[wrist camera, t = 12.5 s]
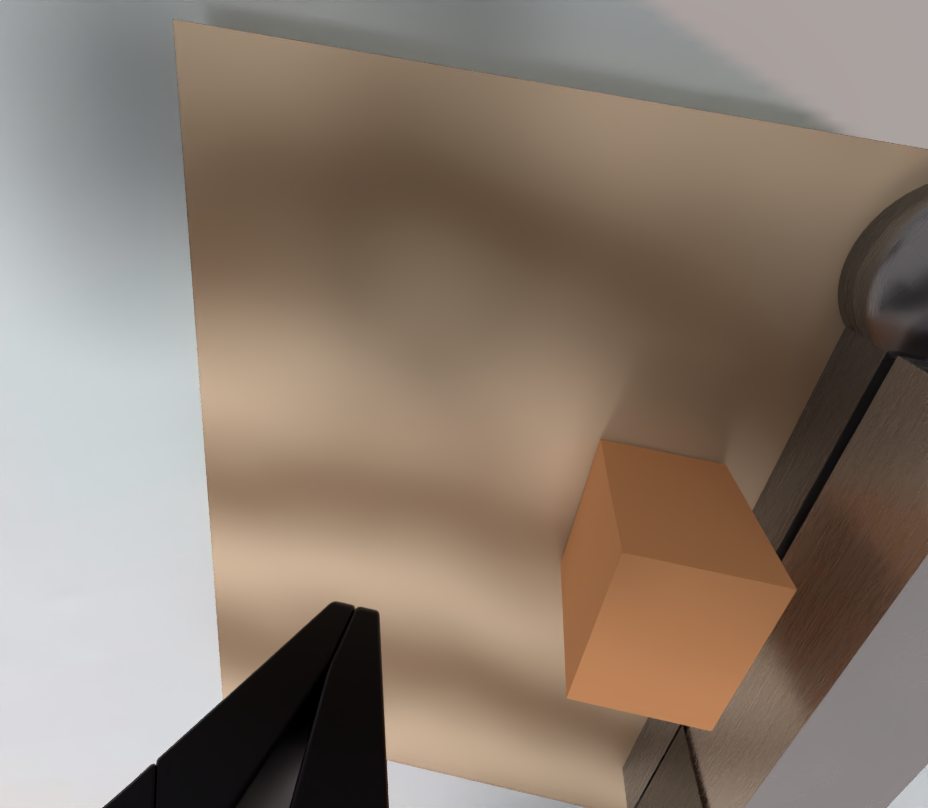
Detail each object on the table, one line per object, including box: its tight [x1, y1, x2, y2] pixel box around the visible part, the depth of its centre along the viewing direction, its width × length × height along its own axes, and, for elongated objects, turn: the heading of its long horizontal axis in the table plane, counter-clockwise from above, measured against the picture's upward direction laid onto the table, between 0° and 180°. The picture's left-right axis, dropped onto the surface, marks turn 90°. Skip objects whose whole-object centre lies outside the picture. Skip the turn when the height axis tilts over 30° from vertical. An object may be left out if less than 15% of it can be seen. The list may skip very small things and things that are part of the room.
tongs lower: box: [622, 184, 928, 808], centre depth 12 cm, size 19×4×5 cm, turn 171°
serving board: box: [173, 19, 928, 808], centre depth 15 cm, size 22×18×1 cm
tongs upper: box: [637, 356, 928, 808], centre depth 12 cm, size 16×3×3 cm, turn 171°
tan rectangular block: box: [561, 439, 797, 731], centre depth 12 cm, size 4×3×4 cm
